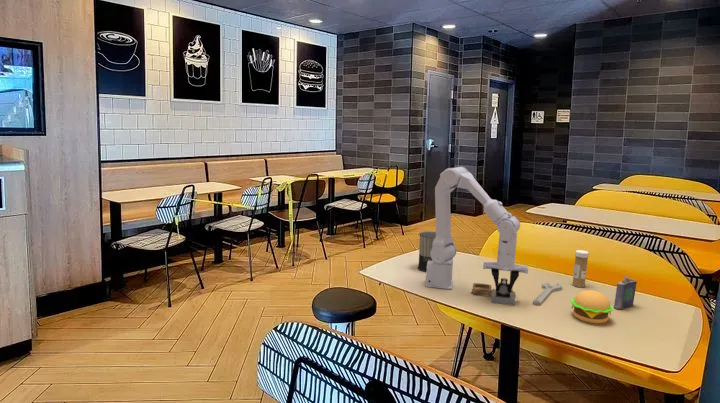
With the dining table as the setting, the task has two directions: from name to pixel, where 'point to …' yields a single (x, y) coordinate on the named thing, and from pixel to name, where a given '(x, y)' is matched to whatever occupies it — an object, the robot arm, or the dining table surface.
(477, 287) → the brown square tray
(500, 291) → the grey knob
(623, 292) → the flask
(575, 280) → the sprinkles bottle
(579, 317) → the hamburger
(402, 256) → the dining table surface
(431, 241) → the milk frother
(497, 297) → the socket block
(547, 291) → the adjustable wrench
